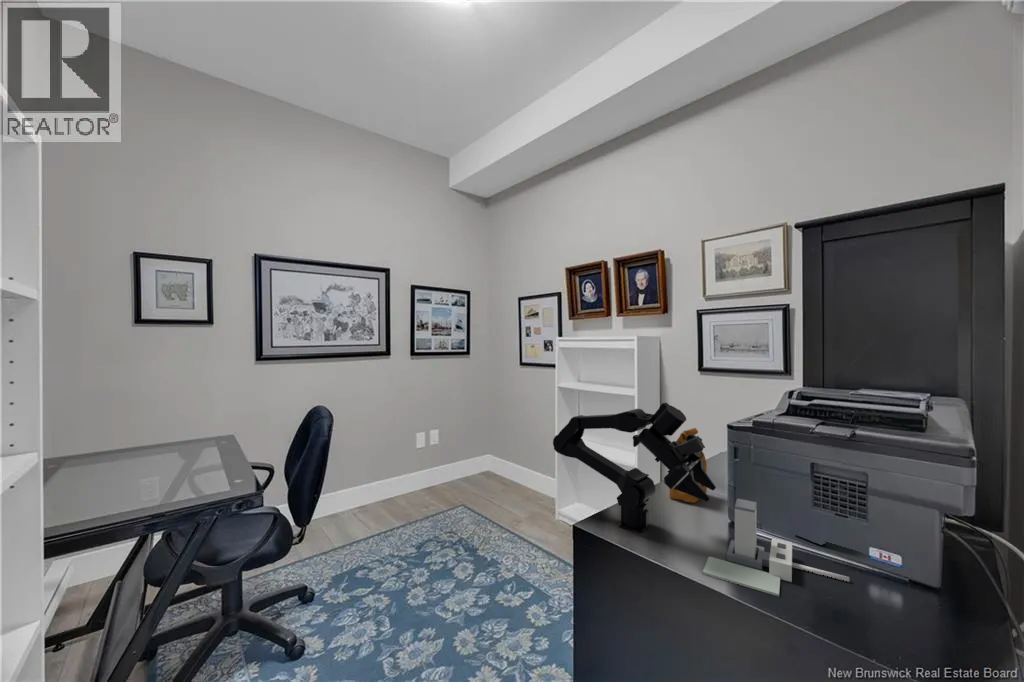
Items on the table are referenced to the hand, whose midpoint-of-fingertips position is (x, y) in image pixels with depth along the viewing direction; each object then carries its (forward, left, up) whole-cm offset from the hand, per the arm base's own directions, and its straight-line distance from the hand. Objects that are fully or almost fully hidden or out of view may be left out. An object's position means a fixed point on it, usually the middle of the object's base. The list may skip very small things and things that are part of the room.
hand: (711, 494), depth 101 cm
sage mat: (+7, -10, -13) cm, 18 cm away
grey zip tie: (+15, 0, -13) cm, 20 cm away
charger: (+7, 0, -13) cm, 15 cm away
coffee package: (-12, +31, -13) cm, 36 cm away
